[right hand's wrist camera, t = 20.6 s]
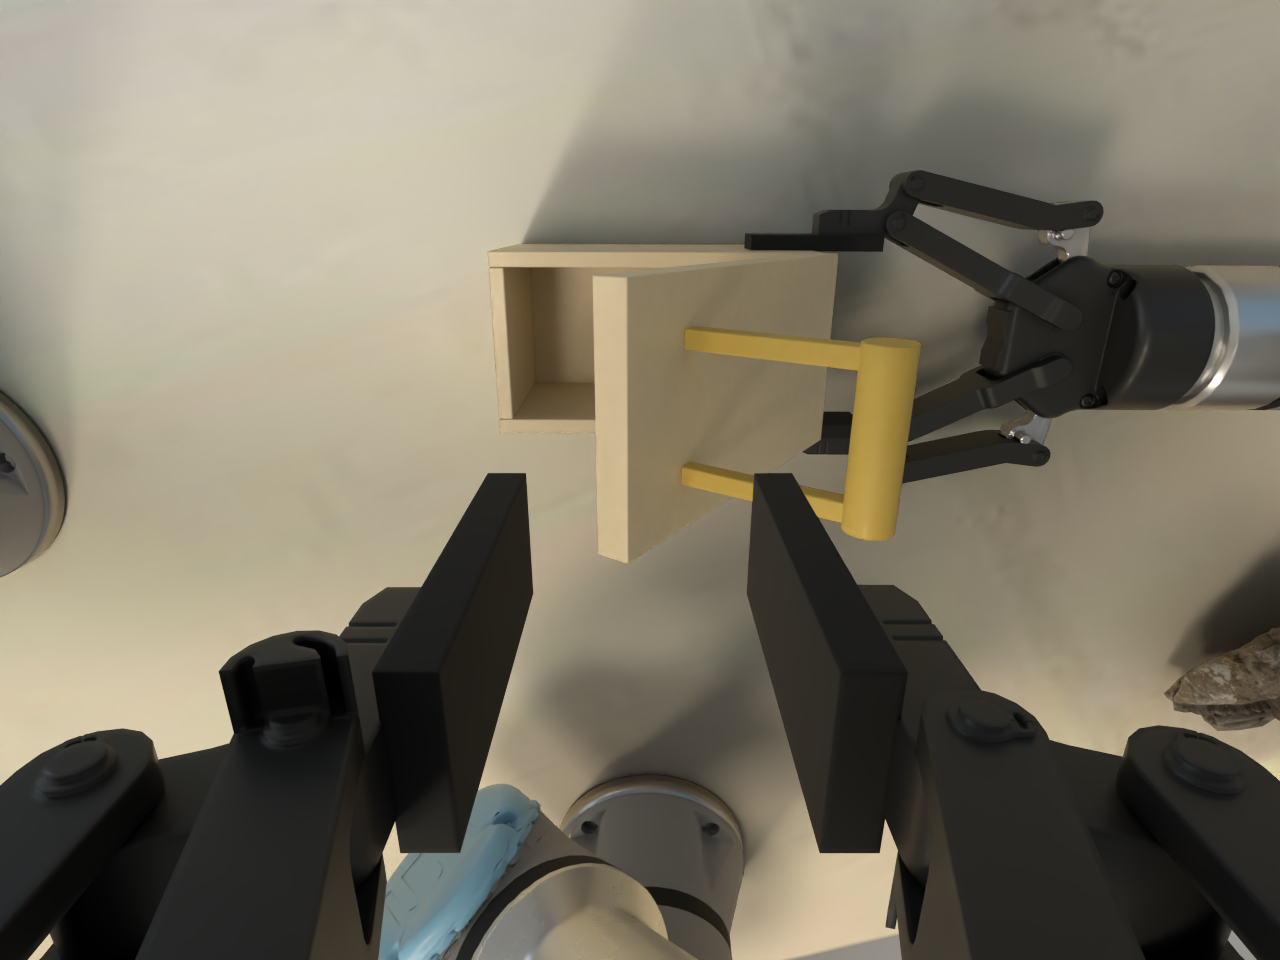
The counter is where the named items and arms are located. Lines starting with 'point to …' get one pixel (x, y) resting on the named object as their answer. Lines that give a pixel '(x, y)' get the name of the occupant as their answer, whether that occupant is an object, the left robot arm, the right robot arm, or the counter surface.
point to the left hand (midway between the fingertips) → (743, 337)
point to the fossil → (1234, 686)
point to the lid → (735, 396)
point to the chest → (566, 323)
